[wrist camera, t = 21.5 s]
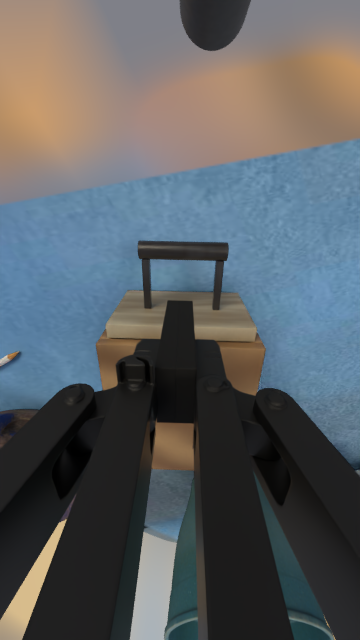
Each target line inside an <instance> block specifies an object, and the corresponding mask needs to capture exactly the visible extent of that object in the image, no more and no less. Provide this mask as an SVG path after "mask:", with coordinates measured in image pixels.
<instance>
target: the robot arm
mask: <svg viewBox="0 0 360 640" xmlns="http://www.w3.org/2000/svg"><path fill="white" fill-rule="evenodd" d="M116 373H117V381H118V384H117V386H115V387H113V388H110V389H107V390H102V391H98V392H94V389H93V388H92V387H91V386H89V385H87V384H73V385H70V386H67V387H65V388H63V389H62V390H60V391H59V392H58V393H57V394H56V395H55V396H54V397H53V398H51V399H50V400H49V401H48V402H47V403H46V404H45V405H44V406H43V407H42V408H41V409H40V410H39V411H38V412H37V413H36V414H35V415H34V416H33V417H32V418H31V419H30V420H29V421H28V422H27V423H26V424H25V425H24V426H23V427H22V428H21V429H20V430H19V431H18V432H17V433H16V434H15V435H14V436H13V437H12V438H11V439H10V440H9V441H8V442H7V443H6V444H5V445H4V446H2V447H1V448H0V619H1V618H2V616H3V614H4V613H5V611H6V609H7V608H8V606H9V604H10V603H11V601H12V600H13V598H14V596H15V595H16V593H17V591H18V589H19V588H20V586H21V585H22V583H23V581H24V580H25V578H26V576H27V575H28V573H29V571H30V570H31V568H32V566H33V565H34V563H35V561H36V560H37V558H38V556H39V555H40V553H41V551H42V550H43V548H44V547H45V545H46V543H47V541H48V540H49V538H50V536H51V535H52V533H53V531H54V530H55V528H56V527H57V525H58V523H59V522H60V520H61V518H62V517H63V515H64V513H65V512H66V510H67V508H68V507H69V505H70V503H71V502H72V500H73V498H74V497H75V495H76V497H75V499H74V502H73V505H72V507H71V510H70V513H69V515H68V518H67V521H66V523H65V526H64V529H63V532H62V534H61V537H60V540H59V542H58V545H57V548H56V550H55V553H54V556H53V558H52V561H51V564H50V567H49V569H48V572H47V575H46V577H45V580H44V583H43V585H42V588H41V591H40V594H39V596H38V599H37V601H36V604H35V607H34V609H33V612H32V615H31V617H30V620H29V623H28V626H27V628H26V631H25V634H24V636H23V639H22V640H129V639H130V632H131V624H132V617H133V609H134V601H135V592H136V585H137V578H138V569H139V562H140V554H141V546H142V538H143V531H144V523H145V515H146V507H147V499H148V492H149V484H150V476H151V468H152V460H153V453H154V445H155V437H156V426H155V425H156V418H157V423H189V424H194V430H193V448H192V449H194V487H195V528H196V568H197V608H198V640H294V637H293V632H292V628H291V624H290V620H289V616H288V612H287V608H286V604H285V600H284V595H283V591H282V587H281V583H280V579H279V575H278V571H277V567H276V563H275V558H274V554H273V550H272V546H271V542H270V538H269V534H268V530H267V526H266V521H265V517H264V513H263V509H262V505H261V501H260V497H259V493H258V488H257V484H256V480H255V476H254V473H255V475H256V477H257V479H258V481H259V483H260V485H261V487H262V489H263V491H264V493H265V496H266V498H267V500H268V502H269V504H270V506H271V508H272V510H273V512H274V514H275V516H276V518H277V520H278V522H279V524H280V526H281V528H282V530H283V532H284V534H285V537H286V539H287V541H288V543H289V545H290V547H291V549H292V551H293V553H294V555H295V557H296V559H297V561H298V563H299V565H300V567H301V569H302V571H303V573H304V575H305V578H306V580H307V582H308V584H309V586H310V588H311V590H312V592H313V594H314V596H315V598H316V600H317V602H318V604H319V606H320V608H321V610H322V612H323V614H324V616H325V619H326V621H327V623H328V624H329V627H330V629H331V631H332V633H333V635H334V637H335V639H336V640H360V476H359V475H358V474H357V472H356V471H355V470H354V469H353V468H352V467H351V465H350V464H349V463H348V462H347V461H346V460H345V458H344V457H343V456H342V455H341V454H340V453H339V452H338V450H337V449H336V448H335V447H334V446H333V445H332V443H331V442H330V441H329V440H328V439H327V438H326V436H325V435H324V434H323V433H322V432H321V431H320V429H319V428H318V427H317V426H316V425H315V424H314V423H313V421H312V420H311V419H310V418H309V417H308V416H307V414H306V413H305V412H304V411H303V410H302V409H301V407H300V406H299V405H298V404H297V403H296V402H295V400H294V399H293V398H292V397H290V396H289V395H288V394H287V393H285V392H283V391H281V390H278V389H274V388H264V389H261V390H259V391H258V392H257V393H256V396H254V395H251V394H247V393H244V392H241V391H239V390H237V389H235V388H234V387H233V386H232V384H231V382H230V381H229V380H228V379H227V377H226V373H225V368H224V364H223V360H222V355H221V351H220V346H219V345H218V344H217V342H216V341H215V340H206V339H195V330H194V314H193V301H180V300H168V301H167V306H166V311H165V317H164V322H163V327H162V332H161V338H160V339H142V340H141V341H140V342H138V343H137V345H136V348H135V352H134V353H133V355H129V356H126V357H123V358H122V359H120V360H119V361H118V362H117V363H116ZM253 471H254V472H253Z"/></svg>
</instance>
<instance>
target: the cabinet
mask: <svg viewBox="0 0 360 640" xmlns="http://www.w3.org/2000/svg"><path fill="white" fill-rule="evenodd" d="M140 341H141V340H135V339H126V338H107V332H106V329H105V331H104V332H103V334H102V335H101V337H100V339H99V340H98V342H97V343H96V349H97V355H98V361H99V368H100V374H101V380H102V386H103V390H107V389H110V388H113V387H115V386H117V384H118V381H117V373H116V363H117V362H118V361H119V360H120V359H122V358H123V357H126V356H129V355H133V353H134V352H135V348H136V345H137V343H138V342H140ZM217 344H218V345H219V346H220V351H221V355H222V360H223V364H224V368H225V373H226V377H227V379H228V380H229V381H230V382H231V384H232V386H233V387H234V388H235V389H237V390H239V391H241V392H244V393H247V394H251V395H254V396H256V393H257V390H258V386H259V381H260V376H261V371H262V366H263V361H264V356H265V351H266V348H265V346H264V345H263V343H262V341H261V339H260V337H259V335H258V333H257V332H256V338H255V342H242V341H237V342H217ZM155 426H156V437H155V445H154V453H153V460H152V468H151V469H166V470H194V449H192V448H193V430H194V424H189V423H157V418H156V425H155Z"/></svg>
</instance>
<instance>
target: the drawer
mask: <svg viewBox="0 0 360 640" xmlns="http://www.w3.org/2000/svg"><path fill="white" fill-rule="evenodd" d="M138 256H139V259H142V273H143V291H136V290H128V291H127V292H126V294H125V295H124V297H123V298H122V300H121V301H120V303H119V305H118V306H117V308H116V309H115V311H114V312H113V314H112V315H111V317H110V318H109V320H108V322H107V323H106V332H107V338H126V339H135V340H142V339H160V338H161V332H162V327H163V322H164V317H165V311H166V306H167V301H168V300H180V301H193V314H194V330H195V339H206V340H215V341H216V342H237V341H242V342H255V338H256V332H257V327H256V326H255V324H254V322H253V320H252V318H251V316H250V315H249V313H248V311H247V309H246V307H245V305H244V303H243V302H242V300H241V298H240V296H239V294H238V293H221V288H222V277H223V267H224V261H227V258H228V243H222V242H174V241H139V242H138ZM150 259H164V260H209V261H216V265H215V277H214V290H213V292H177V291H151V271H150Z"/></svg>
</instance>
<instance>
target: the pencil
mask: <svg viewBox="0 0 360 640" xmlns="http://www.w3.org/2000/svg"><path fill="white" fill-rule="evenodd" d="M19 352H20V351H18V352H15V353H12V354H9V355H7V356H5V357H4V358H2V359H0V367H1V366H3V365H4V364H6V363H8V362H9V361H11V360H12V359H14V357H15V356H16V355H17V354H18V353H19Z"/></svg>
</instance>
